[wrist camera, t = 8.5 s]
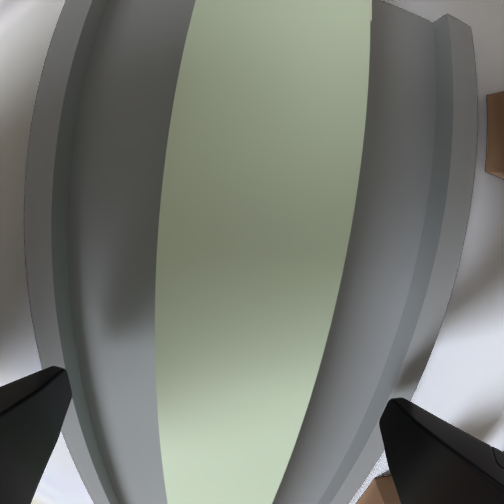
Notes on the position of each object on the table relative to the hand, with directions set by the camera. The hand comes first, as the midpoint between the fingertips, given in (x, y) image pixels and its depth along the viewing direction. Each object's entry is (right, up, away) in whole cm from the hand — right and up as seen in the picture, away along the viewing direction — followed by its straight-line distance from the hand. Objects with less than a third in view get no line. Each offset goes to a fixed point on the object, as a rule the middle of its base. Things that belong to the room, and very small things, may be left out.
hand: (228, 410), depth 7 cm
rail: (0, 0, +2) cm, 2 cm away
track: (0, +1, +2) cm, 2 cm away
